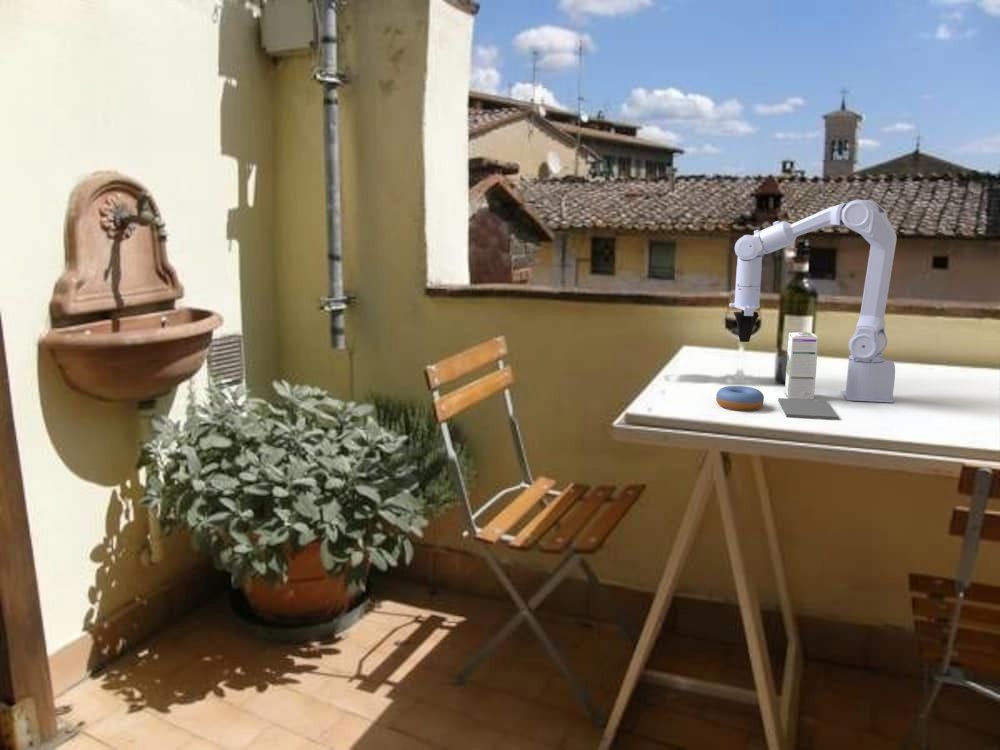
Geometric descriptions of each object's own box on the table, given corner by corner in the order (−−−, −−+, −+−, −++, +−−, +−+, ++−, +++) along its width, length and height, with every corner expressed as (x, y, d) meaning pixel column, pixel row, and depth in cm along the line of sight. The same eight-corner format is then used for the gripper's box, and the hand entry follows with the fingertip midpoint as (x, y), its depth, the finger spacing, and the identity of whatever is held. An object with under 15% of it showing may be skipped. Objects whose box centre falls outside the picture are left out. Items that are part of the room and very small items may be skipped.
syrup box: (814, 400, 176) (820, 336, 173) (786, 399, 177) (792, 335, 174) (810, 394, 181) (815, 332, 178) (783, 393, 183) (788, 331, 179)
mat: (825, 403, 173) (826, 400, 173) (838, 419, 160) (838, 417, 160) (778, 400, 175) (778, 398, 175) (786, 416, 162) (786, 414, 162)
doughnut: (754, 399, 176) (754, 379, 175) (771, 413, 167) (770, 392, 165) (710, 403, 176) (710, 384, 175) (724, 417, 166) (724, 397, 165)
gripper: (728, 282, 197) (725, 336, 200) (732, 288, 183) (729, 346, 186) (758, 283, 195) (754, 337, 198) (764, 289, 181) (760, 347, 184)
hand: (744, 341), depth 192 cm, fingers closed
